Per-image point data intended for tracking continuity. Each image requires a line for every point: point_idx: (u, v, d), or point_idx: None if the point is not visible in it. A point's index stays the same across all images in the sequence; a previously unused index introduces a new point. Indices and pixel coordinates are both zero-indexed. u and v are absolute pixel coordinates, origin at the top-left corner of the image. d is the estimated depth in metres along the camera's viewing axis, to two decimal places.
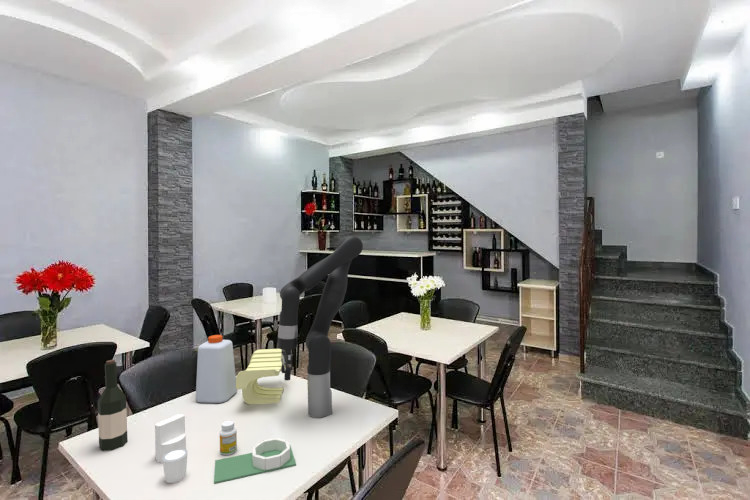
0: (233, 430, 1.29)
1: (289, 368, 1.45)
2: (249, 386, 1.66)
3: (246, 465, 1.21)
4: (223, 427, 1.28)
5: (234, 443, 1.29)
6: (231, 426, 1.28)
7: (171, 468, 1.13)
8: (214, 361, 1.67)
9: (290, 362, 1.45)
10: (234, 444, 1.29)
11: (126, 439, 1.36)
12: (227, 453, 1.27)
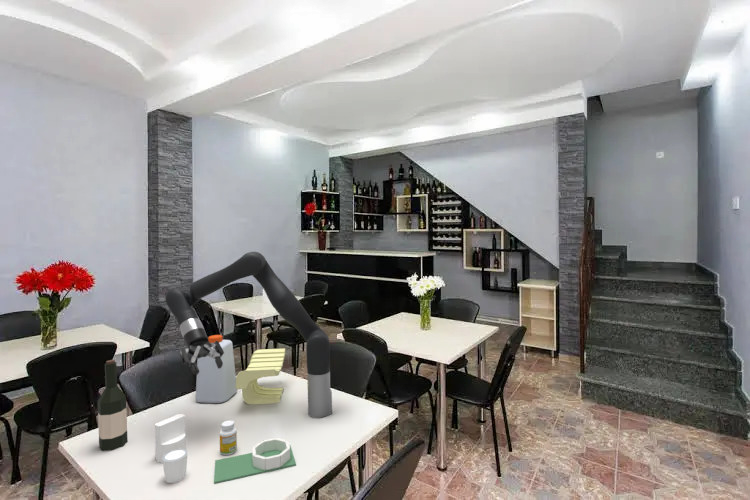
0: (233, 430, 1.29)
1: (184, 362, 1.33)
2: (249, 386, 1.66)
3: (246, 465, 1.21)
4: (223, 427, 1.28)
5: (234, 443, 1.29)
6: (231, 426, 1.28)
7: (171, 468, 1.13)
8: (214, 361, 1.67)
9: (182, 356, 1.34)
10: (234, 444, 1.29)
11: (126, 439, 1.36)
12: (227, 453, 1.27)
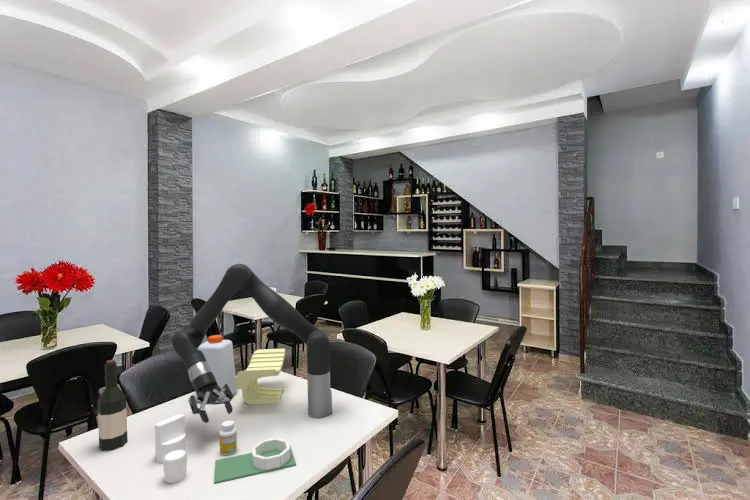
0: (233, 430, 1.29)
1: (194, 410, 1.30)
2: (249, 386, 1.66)
3: (246, 465, 1.21)
4: (223, 427, 1.28)
5: (234, 443, 1.29)
6: (231, 426, 1.28)
7: (171, 468, 1.13)
8: (214, 361, 1.67)
9: (191, 404, 1.31)
10: (234, 444, 1.29)
11: (126, 439, 1.36)
12: (227, 453, 1.27)
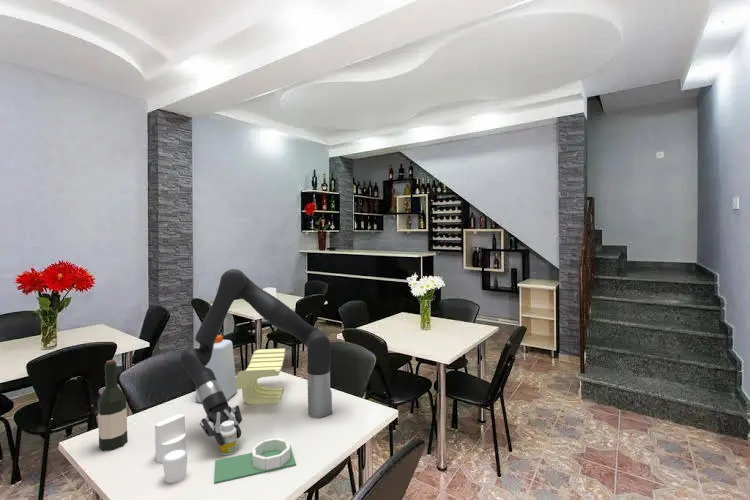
0: (233, 430, 1.29)
1: (209, 433, 1.26)
2: (249, 386, 1.66)
3: (246, 465, 1.21)
4: (223, 427, 1.28)
5: (234, 443, 1.29)
6: (231, 426, 1.28)
7: (171, 468, 1.13)
8: (214, 361, 1.67)
9: (205, 427, 1.26)
10: (234, 444, 1.29)
11: (126, 439, 1.36)
12: (227, 453, 1.27)
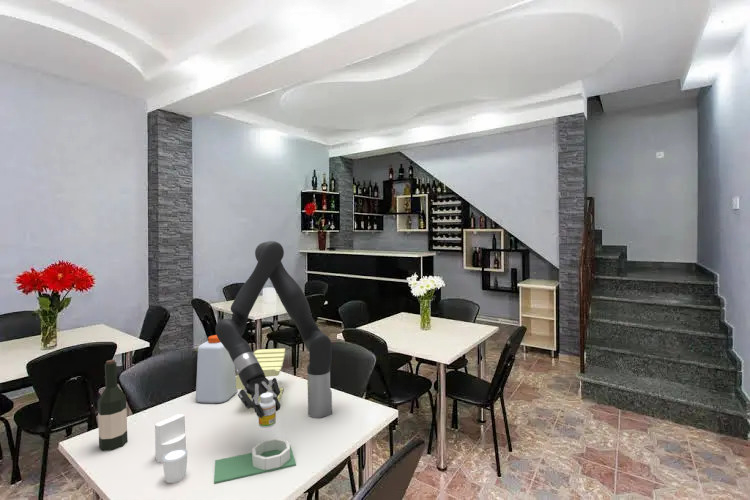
0: (272, 402, 1.23)
1: (248, 404, 1.21)
2: None
3: (246, 465, 1.21)
4: (262, 399, 1.22)
5: (274, 415, 1.23)
6: (270, 398, 1.23)
7: (171, 468, 1.13)
8: (214, 361, 1.67)
9: (243, 398, 1.21)
10: (274, 416, 1.23)
11: (126, 439, 1.36)
12: (267, 425, 1.22)
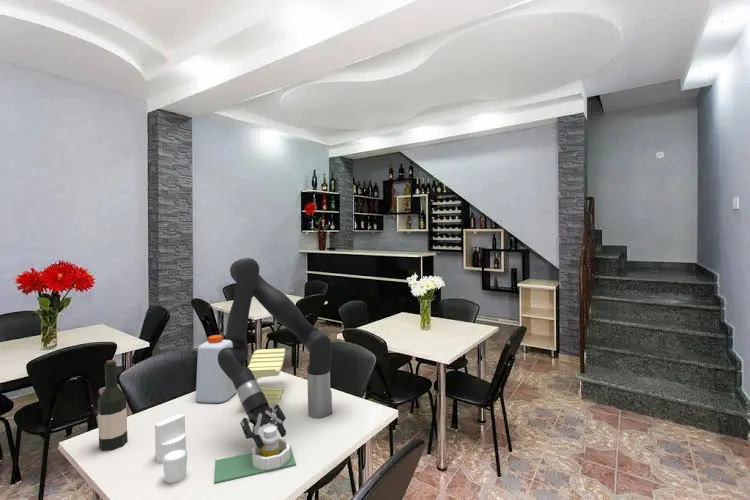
0: (276, 437, 1.23)
1: (247, 434, 1.20)
2: None
3: (246, 465, 1.21)
4: (265, 433, 1.22)
5: (277, 450, 1.23)
6: (274, 432, 1.23)
7: (171, 468, 1.13)
8: (214, 361, 1.67)
9: (244, 427, 1.21)
10: (277, 451, 1.23)
11: (126, 439, 1.36)
12: None
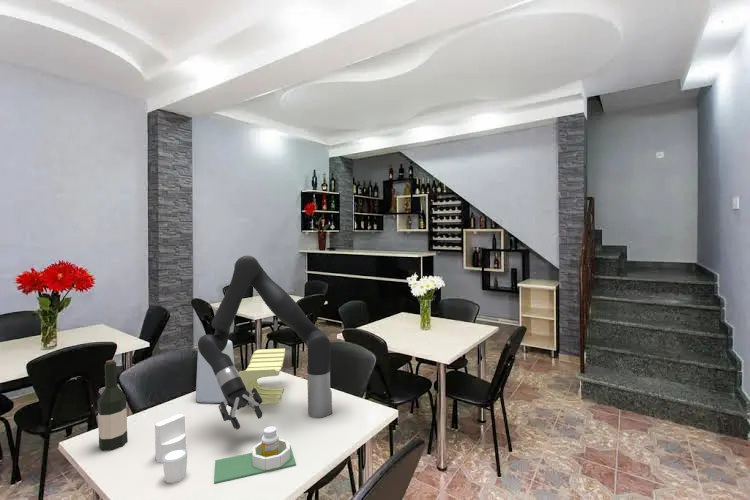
0: (276, 437, 1.23)
1: (224, 417, 1.28)
2: (249, 386, 1.66)
3: (246, 465, 1.21)
4: (265, 433, 1.22)
5: (277, 450, 1.23)
6: (274, 432, 1.23)
7: (171, 468, 1.13)
8: None
9: (222, 410, 1.29)
10: (277, 451, 1.23)
11: (126, 439, 1.36)
12: None
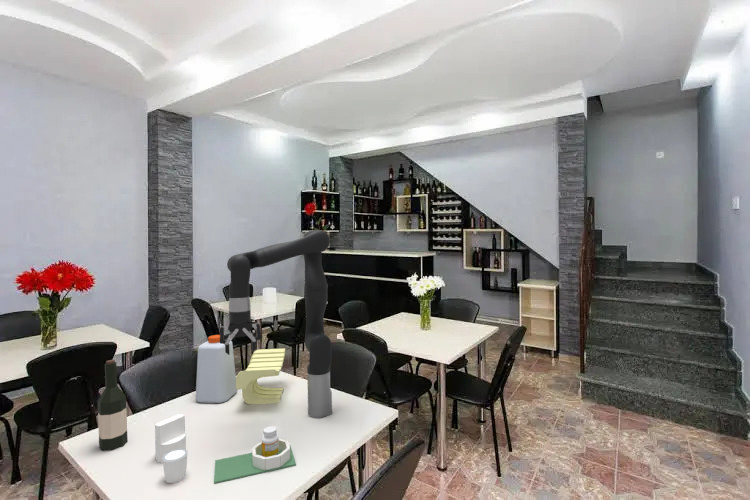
0: (276, 437, 1.23)
1: (220, 340, 1.38)
2: (249, 386, 1.66)
3: (246, 465, 1.21)
4: (265, 433, 1.22)
5: (277, 450, 1.23)
6: (274, 432, 1.23)
7: (171, 468, 1.13)
8: (214, 361, 1.67)
9: (220, 334, 1.38)
10: (277, 451, 1.23)
11: (126, 439, 1.36)
12: None
